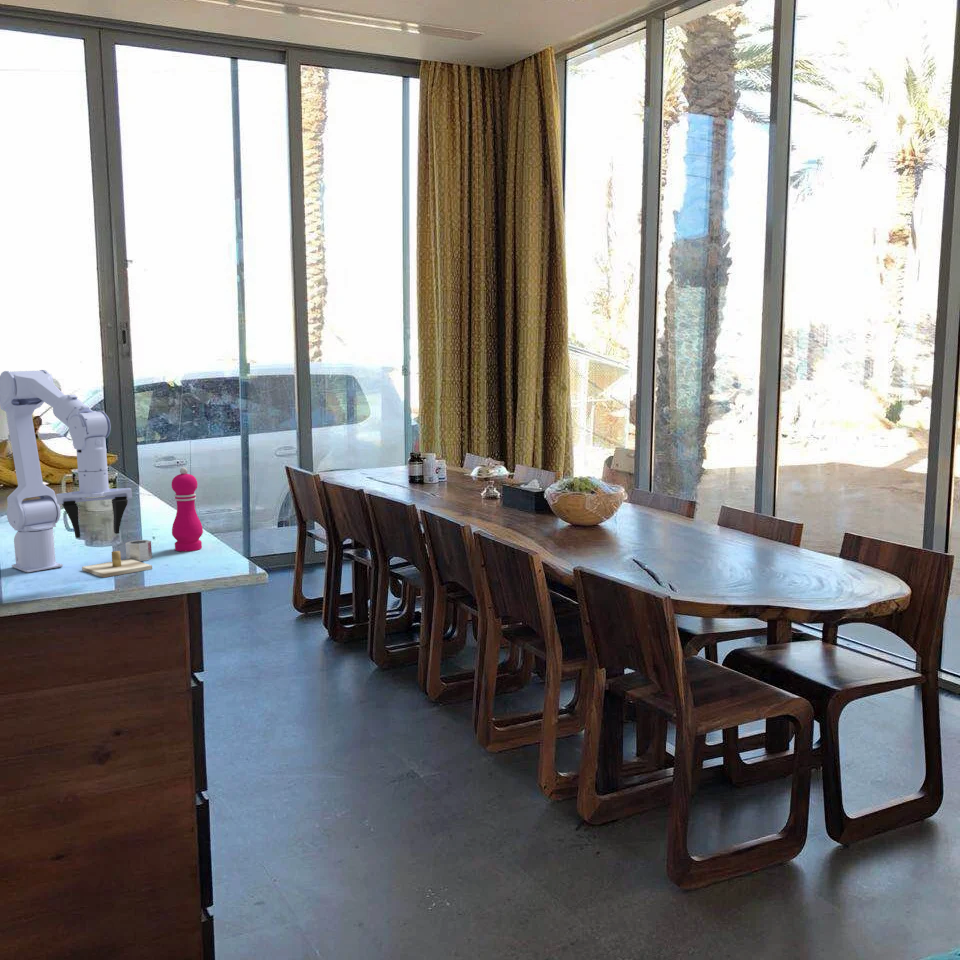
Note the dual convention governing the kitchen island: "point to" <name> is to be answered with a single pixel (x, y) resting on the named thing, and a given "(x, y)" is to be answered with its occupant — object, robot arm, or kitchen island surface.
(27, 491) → the robot arm
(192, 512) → the pepper mill
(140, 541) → the collar
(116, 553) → the post block
